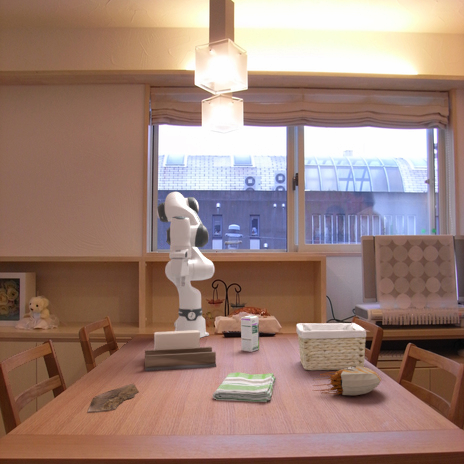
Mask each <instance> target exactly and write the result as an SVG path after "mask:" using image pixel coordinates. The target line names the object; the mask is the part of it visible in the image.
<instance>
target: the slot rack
mask: <svg viewBox="0 0 464 464" xmlns="http://www.w3.org/2000/svg"><path fill="white" fill-rule="evenodd" d="M216 354H217V353H216V351H213V347H212V346H201V347H196V348H177V349H159V350H155V349H145V350H144V371H145V372H151V371H153V372H154V371H169V370H181V369H183V370H186V369H198V368H199V369H200V368H212V367H213V368H215V367H216V368H217V363H216V361H217V359H216V356H217V355H216Z"/></svg>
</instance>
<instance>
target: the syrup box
mask: <svg viewBox="0 0 464 464" xmlns="http://www.w3.org/2000/svg"><path fill="white" fill-rule="evenodd" d="M259 319H260V318H259V316H257V315H246V316H242V317H240V335H241V337H240V339H241V341H240V342H241V345H240V346H241V351H244V352H250V353H251V352H252V353H253V352H256V351H259V350H260V327H259V326H260V324H259V323H260V322H259V321H260V320H259Z"/></svg>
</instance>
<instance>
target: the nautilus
mask: <svg viewBox="0 0 464 464" xmlns="http://www.w3.org/2000/svg"><path fill="white" fill-rule="evenodd" d="M319 376H320V378H317V379H314V381H317V380H318V381H319V380H321V378H322V377H323V378H324V377H326V376H329V377H327V378H324V380H328V382H330V383H327V384H325V383H324V384H314V385H312V386H313V387H319V386H320V387H321V386H327V387H329V388H325V389H315V390H314V389H312V391H315V392H317V391H318V392H320V395H321V394H322V395H323V394H327V395H329V397H331V396H334V395H343V396H353V397H354V396H358V395H364V394H368V393H370V392H371V391H373V390H374V389H376V388H377V387H378V386H379V385H380V384H381V382H382V378H381V376H380V375H379V374H378V373H377V372H376V371H374V370H373V369H371V368H368V367H365V366H364V367H360V366H359V367H356V366H352V367H348V368H345V369H341V370H336V371H330V372H329V371H328V372H323V373H320V374H319ZM332 392H333V393H332Z"/></svg>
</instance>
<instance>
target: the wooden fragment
mask: <svg viewBox="0 0 464 464" xmlns="http://www.w3.org/2000/svg"><path fill="white" fill-rule="evenodd" d="M139 392H140V391H139V390H138V388H137V387H136V385H135V384H134V383H129V384H127V385H124V386H121V387H118V388H114V389H110V390H108V391H106V392H104V393H101V394H98V395H95V396H94V397H93V398H92V401H91V403H90V404H89V405H90V406H89V408H88V410H87V414H91V413H92V414H93V413H96V414H97V413H103V412H111V411H115V410H116V409H117V407H119V405H121V404H123V402H124V401H126V400H129V399H132V398H134V397H135V395H136V394H137V393H139Z"/></svg>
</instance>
